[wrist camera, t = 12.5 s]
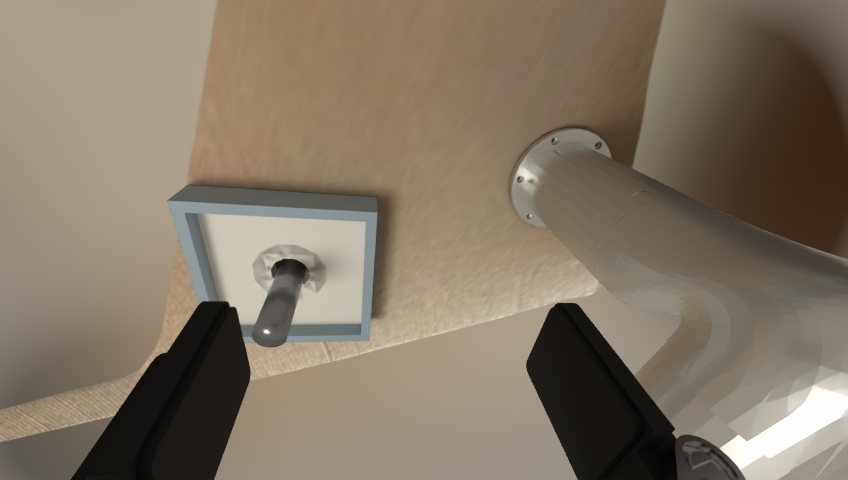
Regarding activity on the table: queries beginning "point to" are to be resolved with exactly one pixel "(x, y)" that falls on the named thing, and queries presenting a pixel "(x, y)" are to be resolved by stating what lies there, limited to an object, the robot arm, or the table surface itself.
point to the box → (282, 254)
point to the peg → (280, 304)
